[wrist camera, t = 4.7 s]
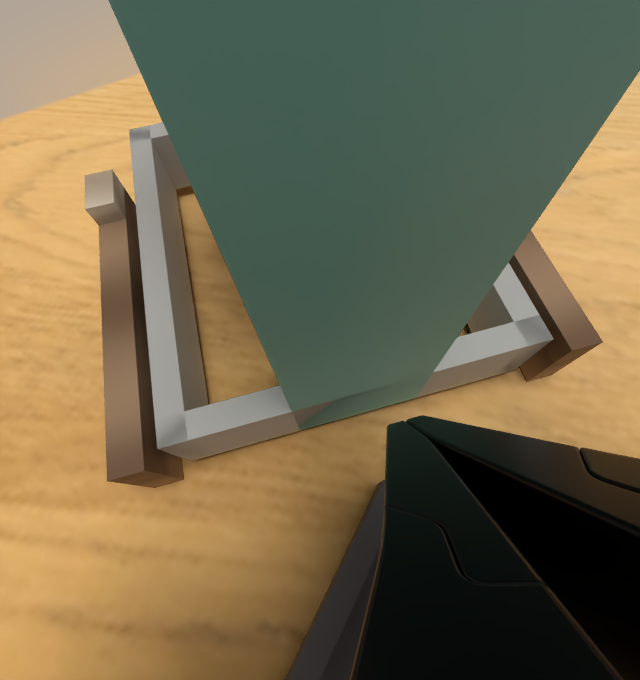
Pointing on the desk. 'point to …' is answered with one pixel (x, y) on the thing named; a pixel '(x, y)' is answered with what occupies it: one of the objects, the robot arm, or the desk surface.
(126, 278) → the channel
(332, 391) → the tray
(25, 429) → the desk surface
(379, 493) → the tray
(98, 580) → the desk surface
